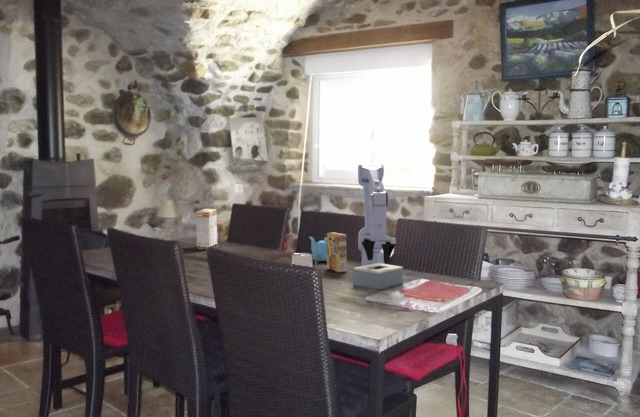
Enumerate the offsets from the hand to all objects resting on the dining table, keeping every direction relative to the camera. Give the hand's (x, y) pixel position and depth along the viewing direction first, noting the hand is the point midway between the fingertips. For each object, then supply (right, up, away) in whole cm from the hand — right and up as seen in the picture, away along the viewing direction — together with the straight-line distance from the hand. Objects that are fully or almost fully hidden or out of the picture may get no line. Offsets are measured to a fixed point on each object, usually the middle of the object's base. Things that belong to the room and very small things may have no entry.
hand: (378, 261), depth 226 cm
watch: (-26, -9, +3) cm, 28 cm away
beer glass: (-27, -11, -21) cm, 36 cm away
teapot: (-19, -4, +51) cm, 55 cm away
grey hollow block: (0, -9, +1) cm, 9 cm away
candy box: (-15, -6, +29) cm, 33 cm away
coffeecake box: (-79, -1, +88) cm, 119 cm away
